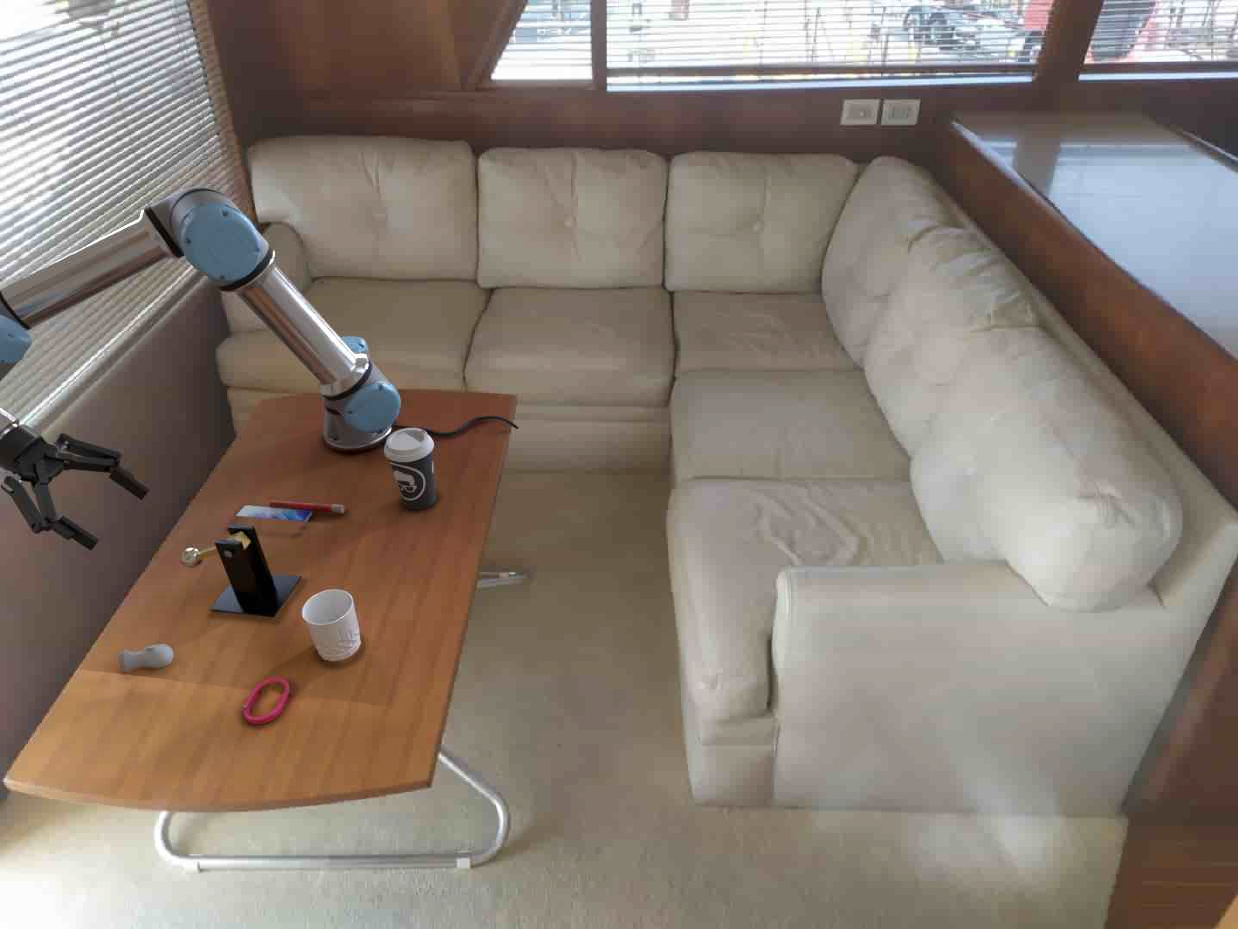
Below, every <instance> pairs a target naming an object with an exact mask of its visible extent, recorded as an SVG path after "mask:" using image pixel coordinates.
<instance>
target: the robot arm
mask: <svg viewBox="0 0 1238 929" xmlns="http://www.w3.org/2000/svg"><path fill="white" fill-rule="evenodd" d="M183 257H185V259H186V261H187V262H188V263H189V264H190V266H192V268H194V269H195V270H196V271H198V272H200V274H202V275H203V276H205V277H206V278H208V279H209V280H210V281H211V282H212V283H213V285H215V286H216V287H217V289H219V291H220V292H222V293H224V294H235V295H236V296H237V297H238V298H239V299H240V300H241V301H242V302H243V303H244V304H245V305H246V306H247V307H248V308H249V309H250V310H251V311H252V312H253V314H254V315H256V316H257V317H258V318H259V320H260V321H261V322H262V323H263V324H264V325H265V326H266V327H267V328H268V329H269V330H270V331H271V332H272V333H273V335H275V336H276V337H277V338H278V339H279V340H280V342H281V343H283V345H284V346H285V347H287V349H288V350H289V351H290V352H291V353H292V354H293V355H294V356H295V357H296V358H297V359H298V360H299V361H300V363H302V364H303V365H304V367H305V368H306V369H307V370H308V371H309V372H310V373H311V374H312V375H313V376H314V377H315V378H316V379H317V390H318V392H319V393H320V395H321V398H322V402H323V406H324V409H325V412H324V423H323V431H322V436H323V440H324V443H325V444H326V446H327V447H328V448H329V449H331V450H333V451H335V452H337V453H338V452H339V453H345V454H346V453H347V454H354V453H362V452H363V453H364V452H366V451H370V450H373V449H375V448H378V447H380V446H382V445H383V444H386V441H387V438H388V437H389V436H390V435H391V434H392V433H394V432H395V429H400V430H401V429H405V428H419V429H422V430H424V431H425V432H426V433H430V434H433V435H436V436H441V437H447V436H448V437H449V436H453V435H456V434H459V433H461V432H462V431H464V430H465V429H466V428H468V426H469V425H471V424H472V423H474V422H477V421H483V420H499V421H502V422H505V423H507V425H510V426H511V427H513V428H514V429H515V430H518V429H520V427H519V426H518V425H517V424H516V423H514V422H513V421H511V420H509V419H508V418H506V417H504V416H499V415H481V416H476V417H474V418H471V419H469V420H468V421H467V422H465V423H464V424H462V426H461V427H459V428H457V429H455V430H453V431H448V432H446V431H445V432H442V431H437V430H433V429H430V428H426V427H419V426H411V425H404V424H403V425H402V424H394V422H395V421H396V419H397V418H398V416H399V414H400V410H401V407H402V400H401V396H400V394H399V391H398V389H397V388H396V387H395V385H394V384H392V383H391V382H390V381H389V380H388V379H387V377H386V376H385V375H384V374H383V373H382V372H381V370H380V369H379V368H378V367H377V366H376V364H375V363H374V362H373V361H372V360H371V359H372V358H371V356H370V348H369V346H368V344H367V342H366V340H365V339H364V338H362V337H359V336H350V335H349V336H341V337H340V335H338V334H337V332H336V331H335V330H334V329H333V328H332V326H331V325H329V322H327V320H325V319H324V318H323V316H322V315H321V314H320V313H319V312H318V310H316V309H315V307H314V306H313V305H312V304H311V302H309V300H307V298H306V297H305V296H304V295H303V293H301V292H300V290H299V289H298V288H297V287H296V286H295V285H294V283H292V281H291V280H290V279H289V278H288V277H287V276H286V274H284V273H283V271H282V270H281V269H280V267H278V265H277V264H276V263H275V258H276V251H275V250H274V248H273V247H272V245H270V243H269V242H268V241H267V240H266V239H265V237H264V236H262V234H261V233H260V232H259V231H258V229H256V227H255V225H254V224H253V223H252V221H251V220H250V219H249V218H248V217H247V216H246V215H245V214H244V213H243V212H242V211H241V210H240V209H239V207H238V206H237V205H236V204H235V202H234V201H233V200H232V199H231V198H230V197H229V196H228V195H226V194H225V193H224V192H221V191H220V190H218V189H215V188H213V187H208V186H192V187H187V188H184V189H181V190H179V191H177V192H175V193H173V194H170V195H169V196H167V197H165V198H163V199H161V200H158V201H157V202H155V203H153V204H151V205H149V206H148V207H147V206H146V207H145V208H143V209H142V210H141V211H140V216H139V218H138V219H136V220H134V221H132V222H130V223H128V224H127V225H124V226H123V227H121V228H119V229H117V230H115V231H113V232H111V233H109V234H107V235H105V236H103V237H100V238H99V239H97V240H95V241H93V242H91V243H90V244H87V245H86V246H84V247H82V248H79V249H78V250H76V251H74V252H72V253H69V254H67V255H66V256H65V257H62V258H60V259H58V260H56V261H54V262H52V263H51V264H49V265H47V266H45V267H42V268H41V269H38V270H37V271H34V272H33V273H31V274H29V275H27V276H25V277H23V278H21V279H19V280H17V281H15V282H14V283H12V284H10V285H8V286H6V287H4V288H2V289H0V383H1V382H2V381H3V379H4V378H5V377H6V376H7V375H8V374H9V373H10V372H11V371H12V370H13V368H14V367H15V366H16V365H17V364H18V363H19V362H20V361H22V360H23V358H24V357H25V355H26V353H27V351H28V350H29V349H30V348H31V346H32V344H33V339H32V336H31V335H30V334H29V333H28V331H30V330H32V329H33V328H35V327H37V326H39V325H41V324H43V323H45V322H47V321H48V320H51V319H52V318H55V317H57V316H58V315H61V314H62V313H64V312H66V311H68V310H70V309H71V308H74V307H75V306H78V305H79V304H81V303H84V302H85V301H87V300H89V299H90V298H91V299H92V298H93V297H94V296H96V295H98V294H101V293H103V292H104V291H107V290H108V289H110V288H112V287H114V286H116V285H118V284H120V283H121V282H123V281H125V280H127V279H129V278H131V277H133V276H135V275H137V274H139V273H140V272H143V271H144V270H146V269H148V268H151V267H152V266H154V265H156V264H158V263H160V262H162V261H164V260H166V259H172V260H179V259H181V258H183ZM122 457H123V454H122V453H121V452H120V451H117V450H113V449H110V448H107V447H103V446H99V445H97V444H92V443H89V442H86V441H82V440H79V439H76V438H74V437H72V436H70V435H69V434H67V433H65V432H61V433H60V434H59V435H58V437H56V440H55V441H54V442H53V443H51V442H49V441H46V440H45V438H44V437H43V436H42V435H41V434H40V433H39V432H37V431H36V430H35V429H33V428H31V427H30V426H29V425H27V424H25V423H23V424H22V423H21V424H20V419H19V418H18V417H16V416H15V415H13V414H11V413H10V412H8V411H7V410H6V409H4V408H2V407H1V406H0V468H1V469H3V470H4V471H6V472H11V474H12V475H7V476H5V478H4V479H3V480H2V483H1V484H0V489H1V490H2V491H4V492H5V493H6V494H7V495H8V496H10V497H11V499H12V501H13V503H14V504H15V505H16V507H17V509H18V510H19V512H20V514H21V516H22V517H23V518H24V520H25V522H26V523H27V525H28V526H29V528H30V530H31V531H32V533H33V534H36V535H39V534H40V533H41V532H50V531H53V532H54V533H56V534H57V535H59V536H60V537H62V538H63V539H65V540H67V541H70V540H71V539H72V540H74V541H75V542H77V543H78V544H80V545H81V546H82V547H84V548H85V549H87V550H89V551H92V550H94V548H95V547H96V546H97V544H98V543H99V541H100V538H98V537H96V536H94V535H93V534H91V532H89V531H87V530H86V529H84V528H82V527H81V526H80V525H78V524H76V523H75V522H74V521H72V520H70V519H69V518H68V517H66V516H65V515H62V516H61V517H60V518H59V519H58V514H57V511H56V508H55V505H54V501H53V498H52V494H51V491H50V488H49V484H50V483H51V482H53V480H54V478H57V477H58V476H60V475H61V474H62V473H63V471H65V472H66V471H71V470H74V471H86V472H94V473H95V472H96V473H107V474H109V476H108V479H110V480H112V481H113V482H114V483H116V484H117V485H119V486H120V487H121V488H123V489H125V490H126V491H127V492H129V493H130V494H132V495H133V496H135V497H136V498H138V499H139V500H140V501H142V500H143V499H144V498H145V497H146V496H147V495H148V493H149V492H150V491H151V489H149V488H148V487H147V486H145V485H144V484H143V483H141V482H140V481H139V480H136V479H135V478H136V477H135V475H134V474H133V473H132V472H131V471H129V470H128V469H127V468H125V467H124V466H122V465H121V464H120V463H121V458H122ZM23 482H24V483H25V482H26V483H30V487H31V491H32V493H33V494H34V497H35V499H36V503H37V506H38V507H37V506H36V504H35V502H34V501H33V499H32V497H31V496H30V493H28V491H27V489H26V488H25V486H24V485H23Z"/></svg>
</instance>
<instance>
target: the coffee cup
mask: <svg viewBox="0 0 1238 929" xmlns="http://www.w3.org/2000/svg"><path fill="white" fill-rule="evenodd" d="M434 447H435V442H434V440H433V439H432V437H431V436H430V435H429V434H428V432H425V431H424V430H422V429H419V428H405V429H401V428H400V429H397V430H396V431H394V432H393V433H392V434H391V435H390V436H389V437H388V438H387V441H386V442H385V443H384V446H383V454H384V456H385V457H386V458H387V460H388V461H389V464H390V467H391V470H392V473H393V476H394V479H395V482H396V485H397V488H398V491H399V493H400V497H401V500H402V503H403V505H404V507H405V508H406V509H408V510H411V511H422V510H426V509H428V508H430V507H431V506H433V505H434V504H435V502H436V500H437V494H436V493H437V492H436V483H435V482H436V481H435V471H434V470H435V469H434V468H435V467H434V458H433V450H434Z"/></svg>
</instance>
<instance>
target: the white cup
mask: <svg viewBox="0 0 1238 929" xmlns="http://www.w3.org/2000/svg"><path fill="white" fill-rule="evenodd" d="M301 617H302V620H303V622H304V624H305V626H306V629H307V632H308V634H309V636H310V639H311V641H312V644H313V645H314V648H315V649H316V651H317V654H318V655H319V656H320V657H321V658H322V659H323V660H324V661H329V662H340V661H343V660H346V659H348V658H350V657H352V656H353V655H354V654H355V653H356V652H357V651H358V650H359V648H360V646H361V644H362V640H361V634H360V633H361V632H360V624H359V621H358V616H357V612H356V608H355V603H354V599H353V597H352V595H351V593H349V592H348V591H345V590H343V589H333V588H332V589H326V590H323V591H320V592H318V593H316V594H314V595H312V596H311V597H310V598H308V599H307V600H306V602H305V603H304V604H303V606H302V608H301Z"/></svg>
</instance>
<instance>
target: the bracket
mask: <svg viewBox="0 0 1238 929" xmlns="http://www.w3.org/2000/svg"><path fill="white" fill-rule="evenodd" d="M226 528H227V531H228V533H229V536H230V535H233V534H236V533H239V532H241V531H242V532H243V533H244V534H245V535H246V536H247V537H248V539H249V540H250V541H251V542H250V543H249V545H248V546H247V547H246V548H245V549H244V546H243V544H242V541H232V540H227V539H220V538H219V539H216V540H215V541H214V546H216V548H217V551H218V553H217V554H218V556H219V558H220V560H221V561H220V562H221V563H222V566H223V569H224V571H225V573H226V576H227V578H228V581H229V584H228V585H227V587H225V589H224V590H223V592H222V593H221V594H220V596H219V597H218V598H217V600H216V601H215V602H214V604H212V606H211V607H210V608H209V611H211V612H220V613H221V612H222V613H231V614H240V615H250V616H258V617H259V616H260V617H269V618H275V617H276V616H277V615H278V613H279V611H280V610H281V608H282V607H283V605H284V604H285V602H286V601H287V600H288V598H289V597H290V595H291V594H292V592H293V591H294V590H295V588H296V586H297V585H298V583H299V582H300V580H301V579H302V576H300V575H290V574H280V573H271V569H270V567H269V564H268V562H267V559H266V556H265V553H264V550H263V548H262V545H261V542H260V539H259V537H258V534H257V530H256V528H255V525H245V524H244V525H243V524H234V523H229V525H228V526H227V527H226Z"/></svg>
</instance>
